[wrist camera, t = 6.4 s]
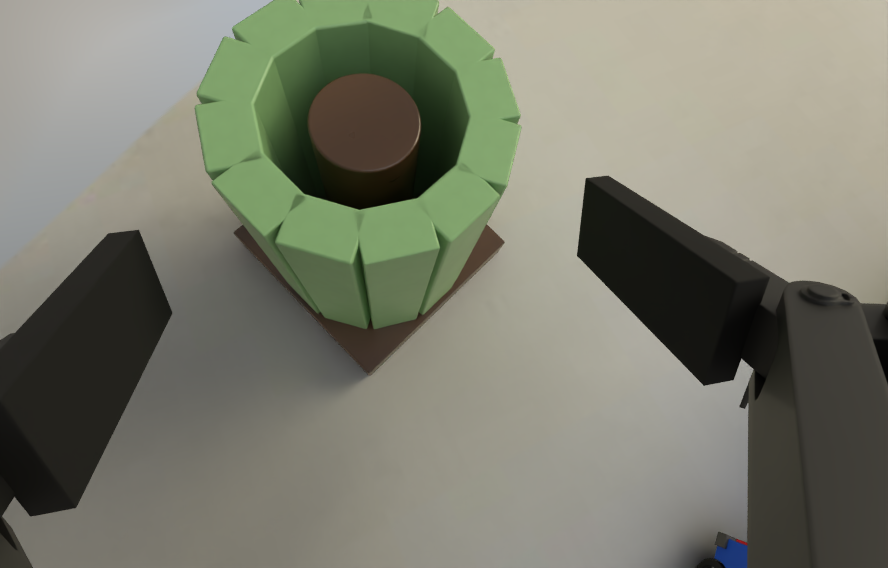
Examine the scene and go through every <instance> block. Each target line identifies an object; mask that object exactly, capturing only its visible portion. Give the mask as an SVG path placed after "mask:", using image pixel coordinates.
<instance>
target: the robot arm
mask: <svg viewBox="0 0 888 568" xmlns="http://www.w3.org/2000/svg"><path fill="white" fill-rule="evenodd" d="M577 256H578V257H579V258H580V259H581V260H582V261H583V262H584V263H585V264H586V265H587V266H588V267H589V268H590V269H591V270H592V271H593V272H594V273H595V275H596V276H597V277H598V278H599V279H600V280H601V281H602V282H603V283H604V284H605V285H606V286H607V287H608V288H609V289H610V290H611V291H612V292H613V293H614V294H615V295H616V296H617V297H618V298H619V299H620V300H621V301H622V302H623V303H624V304H625V305H626V306H627V307H628V308H629V309H630V310H631V311H632V312H633V313H634V314H635V315H636V316H637V318H638V319H639V320H640V321H641V322H642V323H643V324H644V325H645V326H646V327H647V328H648V329H649V330H650V331H651V332H652V333H653V334H654V335H655V336H656V337H657V338H658V339H659V340H660V341H661V342H662V343H663V344H664V345H665V346H666V347H667V348H668V349H669V350H670V351H671V352H672V353H673V354H674V355H675V356H676V357H677V358H678V359H679V361H680V362H681V363H682V364H683V365H684V366H685V367H686V368H687V369H688V370H689V371H690V372H691V373H692V374H693V375H694V376H695V377H696V378H697V379H698V380H699V381H700V382H701V383H702V384H703V385H704V386H705V385H710V384H715V383H720V382H725V381H730V380H734V377H735V375H736V372H737V369H738V366H739V363H740V361H741V358H742V359H743V360H744V361H745V362H746V363H747V364H749V365H750V366H751V367H752V368H753V369H754V370H753V373H752V375H751V378H750V380H749V383H748V386H747V388H746V391H745V394H744V396H743V399H742V402H741V404H740V407H741V408H744V409H745V407H746V405H747V403H749V410H748V528H747V568H888V303H887V304H862V303H860V302H859V301H858V300H857V298H856V297H854V296H853V295H851V294H850V293H848V292H847V291H845V290H842V289H840V288H837V287H835V286H832V285H828V284H824V283H820V282H813V281H795V282H791V283H788V282H787V281H785V280H784V279H782V278H780V277H779V276H777V275H775V274H774V273H772V272H770V271H769V270H767V269H766V268H764V267H762V266H761V265H759V264H757V263H756V262H754V261H750V260H749V258H748V257H746V256H744V255H743V254H741V253H737V251H736V250H735V249H733V248H731V247H730V246H728V245H726V244H725V243H723V242H721V241H718V240H715V239H713V238H710V237H707V236H704V235H702V234H701V233H699V232H697V231H696V230H694V229H693V228H691V227H689V226H688V225H686V224H685V223H683V222H681V221H680V220H678V219H677V218H675V217H673V216H672V215H670V214H669V213H667V212H665V211H664V210H662V209H661V208H659V207H657V206H656V205H654V204H653V203H651V202H649V201H648V200H646V199H645V198H643V197H641V196H640V195H638V194H637V193H635V192H633V191H632V190H630V189H629V188H627V187H626V186H624V185H622V184H621V183H619V182H618V181H616V180H614V179H613V178H611V177H610V176H602V177H593V178H586V181H585V190H584V199H583V208H582V217H581V225H580V234H579V243H578V252H577ZM171 315H172V311H171V308H170V306H169V303H168V301H167V298H166V296H165V293H164V291H163V288H162V286H161V284H160V281H159V279H158V276H157V274H156V271H155V269H154V266H153V264H152V261H151V259H150V256H149V254H148V251H147V249H146V247H145V244H144V242H143V239H142V237H141V234H140V232H139V230H134V231H126V232H117V233H108V234H107V236H106V237H105V238H104V239H103V240H102V241H101V242H100V243H99V244H98V245H97V246H96V247H95V248H94V249H93V250H92V252H91V253H90V254H89V255H88V256H87V257H86V258H85V259H84V260H83V261H82V262H81V263H80V264H79V265H78V266H77V268H76V269H75V270H74V271H73V272H72V273H71V274H70V275H69V276H68V277H67V278H66V279H65V280H64V281H63V282H62V284H61V285H60V286H59V287H58V288H57V289H56V290H55V291H54V292H53V293H52V294H51V295H50V296H49V297H48V298H47V300H46V301H45V302H44V303H43V304H42V305H41V306H40V307H39V308H38V309H37V310H36V311H35V312H34V313H33V314H32V316H31V317H30V318H29V319H28V320H27V321H26V322H25V323H24V324H23V325H22V326H21V327H20V328H19V329H18V330H17V332H16V333H12V334H9V335H8V336H6V337H5V338H3V339H1V340H0V568H33V567H32V565H31V563H30V561H29V559H28V558H27V556H26V554H25V552H24V550H23V548H22V546H21V544H20V542H19V541H18V539H17V537H16V535H15V533H14V531H13V529H12V528H11V526H10V525H9V524H8V523H7V522H6V520H5V519H4V518H3V517H2V515H3V514H4V512H5V510H6V509H7V507H8V506H9V504H10V502H11V501H12V499H13V498H14V497H15V498H16V499H17V500H18V502H19V503H20V504H21V505H22V507H23V508H24V509H25V510H26V511H27V513H28V514H29V515H30V516H36V515H41V514H47V513H52V512H57V511H62V510H67V509H72V508H76V507H77V505H78V503H79V501H80V499H81V497H82V495H83V493H84V491H85V489H86V487H87V485H88V483H89V481H90V479H91V477H92V475H93V473H94V470H95V468H96V466H97V464H98V462H99V460H100V458H101V456H102V454H103V452H104V450H105V448H106V446H107V444H108V442H109V440H110V438H111V436H112V434H113V432H114V430H115V428H116V426H117V424H118V422H119V420H120V418H121V416H122V414H123V412H124V410H125V408H126V406H127V404H128V402H129V400H130V398H131V396H132V394H133V392H134V390H135V388H136V386H137V384H138V382H139V380H140V378H141V376H142V373H143V371H144V369H145V367H146V365H147V363H148V361H149V359H150V357H151V355H152V353H153V351H154V349H155V347H156V345H157V343H158V341H159V339H160V337H161V335H162V333H163V331H164V329H165V327H166V325H167V323H168V321H169V319H170V317H171Z"/></svg>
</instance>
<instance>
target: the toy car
mask: <svg viewBox="0 0 888 568" xmlns="http://www.w3.org/2000/svg"><path fill="white" fill-rule="evenodd" d="M715 545H717V549H716V553H715V557H714V559H716V560H718V561H720V562H721V563H720V562H718V561H716V560H714V559H705V560H703V561H702V562H701V563H700V564H699V565H698V566H697V568H747V543H746V542H744V541H741V540H738V539H735V538H733V537H731V536H729V535H726V534H724V533H721V532H718V535H717V539H716V542H715Z"/></svg>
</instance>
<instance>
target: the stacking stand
mask: <svg viewBox="0 0 888 568" xmlns="http://www.w3.org/2000/svg"><path fill="white" fill-rule="evenodd" d="M307 127H308V133H309V136H310V140H311V143H312V147H313V151H314V154H315V158H316V161H317V165H318V169H319V172H320V176H321V179H322V183H323V186H324V190H325V194H326V197H327V201H330V202H334V203H337V204H340V205H344V206H347V207H351V208H354V209H358V210H362V209H367V208H372V207H377V206H382V205H386V204H391V203H396V202H401V201H406V200H411V199H415V198H414V197H413V191H414V183H415V175H416V167H417V160H418V152H419V144H420V136H421V117H420V113H419V110H418V107H417V105H416V103H415V102H414V100H413V99H412V97H411V96H410V94H409V93H408V92H407V91H406V90H405V89H404V88H402V87H401V86H400V85H398V84H397V83H395V82H394V81H392V80H390V79H388V78H385V77H382V76H379V75H375V74H368V73H358V74H350V75H346V76H343V77H340V78H337V79H335V80H333V81H332V82H330V83H328V84H327V85H326V86H325V87H323V88H322V89H321V90H320V91H319V92H318V94H317V95H316V96H315V98H314V99H313V101H312V104H311V106H310V109H309V112H308V118H307ZM234 234H235V235H236V236H237V238H238V239H239V240H240V241H241V242H242V243H243V244H244V246H245V247H246V248H247V249H248V250H249V251H250V252H251V253H252V254H253V255H254V256H255V257H256V258H257V259H258V260H259V261H260V262H261V263H262V264H263V265H264V266H265V267H266V268H267V269H268V271H269V272H270V273H271V274H272V275H273V276H274V277H275V278H276V279H277V280H278V281H279V282H280V283H281V284H282V285H283V286H284V287H285V288H286V289H287V290H288V291H289V292H290V293H291V295H292V296H293V297H294V298H295V299H296V300H297V301H298V302H299V303H300V304H301V305H302V306H303V307H304V308H305V309H306V310H307V311H308V312H309V313H310V314H311V315H312V316H313V317H314V318H315V320H316V321H317V322H318V323H319V324H320V325H321V326H322V327H323V328H324V329H325V330H326V331H327V332H328V333H329V334H330V335H331V336H332V337H333V338H334V339H335V340H336V341H337V342H338V343H339V345H340V346H341V347H342V348H343V349H344V350H345V351H346V352H347V353H348V354H349V355H350V356H351V357H352V358H353V359H354V360H355V361H356V362H357V363H358V364H359V365H360V366H361V367H362V368H363V370H364V371H365V372H366V373H367V374H368V375H372V374H373V373H374V372H375V371H376V370H377V369H378V368H379V367H380V366H381V365H382V364H383V363H384V362H385V361H386V360H387V359H388V358H389V357H390V356H391V355H392V354H393V353H394V352H395V351H396V350H397V349H398V348H399V347H400V346H402V345H403V344H404V343H405V342H406V341H407V340H408V339H409V338H410V337H411V336H412V335H413V334H414V333H415V332H416V331H417V330H418V329H419V328H420V327H421V326H422V325H423V324H424V323H425V322H426V321H427V320H428V319H429V318H430V317H431V316H432V315H433V314H434V313H436V312H437V311H438V310H439V309H440V308H441V307H442V306H443V305H444V304H445V303H446V302H447V301H448V300H449V299H450V298H451V297H452V296H453V295H454V294H455V293H456V292H457V291H458V290H459V289H460V288H461V287H462V286H463V285H464V284H465V283H466V282H467V281H468V280H470V279H471V278H472V277H473V276H474V275H475V274H476V273H477V272H478V271H479V270H480V269H481V268H482V267H483V266H484V265H485V264H486V263H487V262H488V261H489V260H490V259H491V258H492V257H493V256H494V255H495V254H496V253H497V252H498V251H499V250H500V248H501V247H502V245H503V244H504V241H503V240H502V239H501V238H500V237H499V236H498V235H497V234H496V233H495V232H494V231H493V230H492V229H491V228H490V227H489V226H488V225H487V224H486V226H485V228H484V230H483V231H482V233H481V235H480V237H479V239H478V241H477V243H476V244H475V246H474V248H473V250H472V252H471V254H470V256H469V257H468V259H467V261H466V263H465V265H464V267H463V268H462V270H461V272H460V274H459V276H458V278H457V280H456V281H455V282H454V284H453V286H452V288H451V289H450V290H449V291H448V292H447V293H446V294H445V295H443V296H442V297H441V298H440V299H439V300H438V301H437V302H436V303H435V304H434V305H433V306H432V307H431V308H430V309H429V310H428V311H427V312H426V313H425V314H423V315H422V314H420V313H419V312H418V315H417V318H416V319H415V320H411V321H406V322H402V323H398V324H394V325H390V326H386V327H382V328H378V329H373V325H372V321H371V318H370V321H369V324H368V328H367V329H363V328H360V327H356V326H353V325H349V324H346V323H342V322H338V321H335V320H331V319H328V318H325V317H324V316H323V314H322V313H321V312H320V313H316V312H315V311H314V310H313V309H312V308H311V306H310V305H309V304H308V303H307V302H306V301H305V300H304V299H303V298H302V297H301V296H300V295H299V294H298V293H297V292H296V291H295V290H294V289H293V288H292V287H291V286H290V285H289V284H288V282H287V281H286V280H285V278H284V277H283V276H282V275H281V273H280V272H279V271H278V269H277V268H276V267H275V265H274V264H273V263H272V262H271V260H270V259H269V258H268V256H267V255H266V254H265V252H264V251H263V250H262V249H261V247H260V246H259V245H258V243H257V242H256V241H255V240H254V238H253V237H252V236H251V234H250V233H249V232H248V230H247V229H246V228H245V227H244V225H242V226H241V227H240V228H238V229H237V230H236V231H235V232H234Z"/></svg>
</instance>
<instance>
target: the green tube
mask: <svg viewBox="0 0 888 568" xmlns="http://www.w3.org/2000/svg"><path fill="white" fill-rule="evenodd" d="M299 3H300V4H299ZM299 3H298V2H297V1H296V0H273V1H272V2H270V3H269V4H267V5H266V6H264V7H263V8H261V9H259V10H258V11H257V12H255V13H254V14H252V15H250V16H249V17H247V18H246V19H244V20H243V21H241V22H240V23H238V24H236V25H235V26H233V28H232V30H233V33H234V36H235V38H236V40H235V39H232V38H228V37H224V38H223V39H222V41H221V43H220V46H219V48H218V49H217V52H216V54H215V56H214V58H213V60H212V62H211V64H210V66H209V68H208V70H207V72H206V74H205V77H204V79H203V81H202V83H201V85H200V87H199V89H198V91H197V97H198V98H199V100H200V102H201V103H202V104H199V105H196V106H195V114H196V119H197V125H198V131H199V137H200V142H201V148H202V154H203V159H204V165H205V171H206V172H207V173H208V175H209V176H210V177H211V179H212V180H213V181H212V185H213V186H214V188H215V189H216V190H217V191H218V193H219V194H220V195H221V197H222V198H223V199H224V201H225V202H226V203H227V204H228V206H229V207H230V208H231V210H232V211H233V212H234V214H235V215H236V216H237V217H238V219H239V220H240V221H241V223H242V224H243V225H244V227H245V228H246V229H247V230H248V232H249V233H250V234H251V236H252V237H253V238H254V240H255V241H256V242H257V243H258V245H259V246H260V247H261V249H262V250H263V251H264V252H265V254H266V255H267V256H268V258H269V259H270V260H271V262H272V263H273V264H274V265H275V267H276V268H277V269H278V271H279V272H280V273H281V275H282V276H283V277H284V278H285V280H286V281H287V282H288V284H289V285H290V286H291V287H292V288H293V289H294V290H295V291H296V292H297V293H298V294H299V295H300V296H301V297H302V298H303V299H304V300H305V301H306V302H307V303H308V304H309V305H310V306H311V308H312V309H313V310H314V311H315V312H316V313H320V312H321V313H322V314H323V316H324V317H325V318H328V319H331V320H335V321H338V322H342V323H346V324H349V325H353V326H356V327H360V328H363V329H367V328H368V324H369V321H370V318H371V321H372V325H373V329H378V328H382V327H386V326H390V325H394V324H398V323H402V322H406V321H411V320H415V319H416V318H417V315H418V312H419V313H420V314H422V315H423V314H425V313H426V312H427V311H428V310H429V309H430V308H431V307H432V306H433V305H434V304H435V303H436V302H437V301H438V300H439V299H440V298H441V297H442V296H443V295H445V294H446V293H447V292H448V291H449V290H450V289H451V288H452V286H453V284H454V282H455V281H456V280H457V278H458V276H459V274H460V272H461V270H462V268H463V267H464V265H465V263H466V261H467V259H468V257H469V256H470V254H471V252H472V250H473V248H474V246H475V244H476V243H477V241H478V239H479V237H480V235H481V233H482V231H483V230H484V228H485V226H486V224H487V222H488V220H489V219H490V217H491V215H492V213H493V211H494V209H495V207H496V206H497V204H498V202H499V200H500V198H501V196H502V194H503V193H504V191H505V189H506V187H507V185H508V181H509V176H510V172H511V168H512V164H513V160H514V156H515V152H516V148H517V144H518V140H519V136H520V132H521V125H518V124H517V123H518V121H519V119H520V116H521V114H520V111H519V108H518V106H517V103H516V100H515V97H514V94H513V91H512V88H511V85H510V82H509V79H508V76H507V73H506V71H505V68H504V65H503V62H502V59H501V58H496V59H492V58H493V55H494V51H495V49H494V48H493V47H492V46H491V45H490V44H489V43H488V42H487V41H486V40H485V39H483V38H482V37H481V36H480V35H479V34H478V33H477V32H476V31H475V30H474V29H473V28H471V27H470V26H469V25H468V24H467V23H466V22H465V21H464V20H463V19H462V18H460V17H459V16H458V15H457V14H456V13H455V12H454V11H453V10H452V9H451V8H449V7H447V8H445V9H444V10H443V11H441V12H440V13H439V14H438V7H439V1H438V0H299ZM358 73H368V74H375V75H379V76H382V77H385V78H388V79H390V80H392V81H394V82H395V83H397V84H398V85H400V86H401V87H402V88H404V89H405V90H406V91H407V92H408V93H409V94H410V96H411V97H412V99H413V100H414V102H415V103H416V105H417V107H418V110H419V113H420V117H421V136H420V144H419V152H418V160H417V167H416V175H415V183H414V191H413V197H414V198H415V199H411V200H406V201H401V202H396V203H391V204H386V205H382V206H377V207H372V208H367V209H362V210H358V209H354V208H351V207H347V206H344V205H340V204H337V203H334V202H330V201H327V197H326V194H325V190H324V186H323V183H322V179H321V176H320V172H319V169H318V165H317V161H316V158H315V154H314V151H313V147H312V143H311V140H310V136H309V133H308V127H307V118H308V112H309V109H310V106H311V104H312V101H313V99H314V98H315V96H316V95H317V94H318V92H319V91H320V90H321V89H322V88H323V87H325V86H326V85H327V84H328V83H330V82H332V81H333V80H335V79H337V78H340V77H343V76H346V75H350V74H358Z"/></svg>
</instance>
